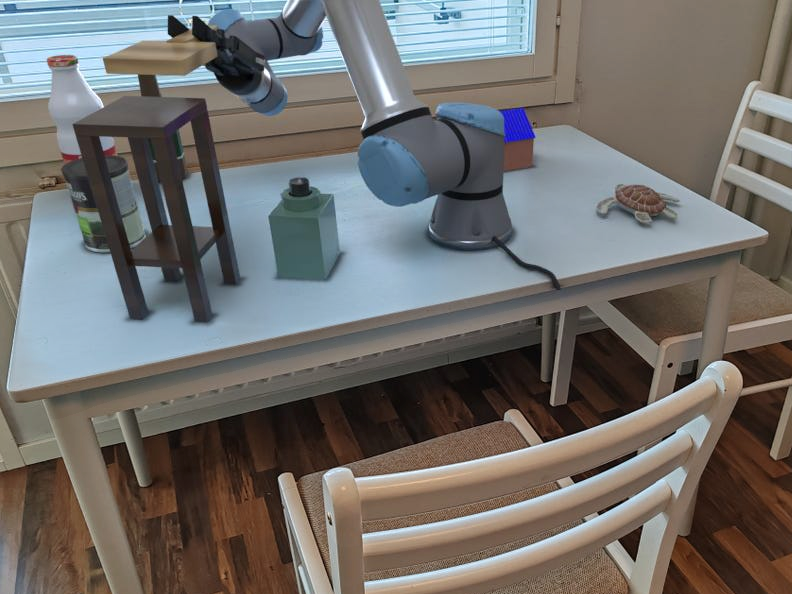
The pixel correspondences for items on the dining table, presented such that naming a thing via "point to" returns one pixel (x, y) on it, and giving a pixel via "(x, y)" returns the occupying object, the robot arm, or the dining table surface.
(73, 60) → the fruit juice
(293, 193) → the black bottle cap
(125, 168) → the coffee can
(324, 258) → the soap bottle
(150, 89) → the beer bottle
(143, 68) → the cutting board
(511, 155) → the house
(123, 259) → the plant stand
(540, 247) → the dining table surface
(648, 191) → the decorative turtle
